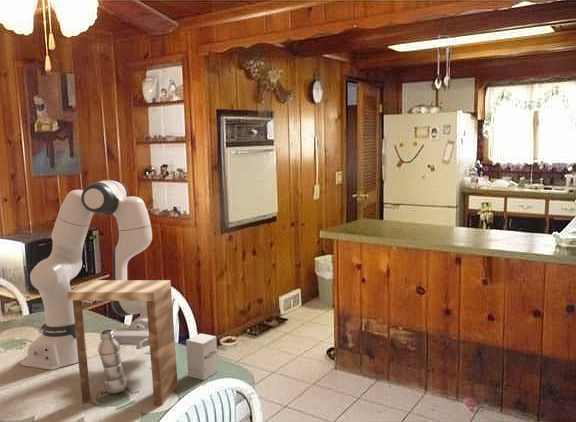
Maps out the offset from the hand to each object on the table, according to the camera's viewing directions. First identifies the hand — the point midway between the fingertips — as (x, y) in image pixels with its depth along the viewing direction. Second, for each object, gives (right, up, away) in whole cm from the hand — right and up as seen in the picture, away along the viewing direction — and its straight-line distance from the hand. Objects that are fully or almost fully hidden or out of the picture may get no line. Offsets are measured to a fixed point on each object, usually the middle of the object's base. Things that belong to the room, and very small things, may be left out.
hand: (124, 346), depth 162 cm
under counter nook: (+2, -14, -3) cm, 14 cm away
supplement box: (+24, -12, +9) cm, 28 cm away
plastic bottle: (-2, -14, -1) cm, 14 cm away
